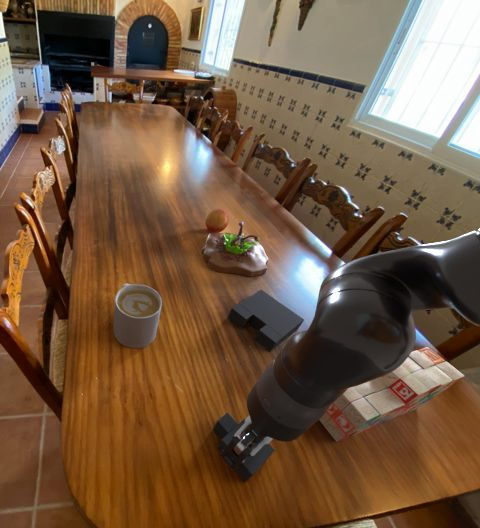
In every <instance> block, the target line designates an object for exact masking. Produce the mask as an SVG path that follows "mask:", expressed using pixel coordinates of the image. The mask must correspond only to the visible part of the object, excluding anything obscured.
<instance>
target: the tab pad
mask: <svg viewBox="0 0 480 528" xmlns="http://www.w3.org/2000/svg"><path fill="white" fill-rule="evenodd" d="M245 419H246V418H242V420H241V421H240V422H239V423H238V422H237V421H236V420H235V418H233V417H232V416H231V415H230V414H229V412H226V413H224V414H223V415H222V416H220V418H219V419H217V421H216V423H215V424H214V426H213V428H212V431H213V432H214V433H215V434H216V435H217V436H218V438H219V439H220V441H219V443H218V445H217V446H216V449H217V450H218V451H219V453H220V454H221V452H222V450H224V449H225V448H226V447H227V445H228V444H229V443H230V442H231V440H232V438H233V436H234V435H235V433H236V432H237V431H238V430H239V429H240V428H241V426H242V425H243V424H244V423H245ZM243 435H244V436H246V434H245V430H244V431H243ZM264 438H265V437H264ZM264 438H263V439H264ZM263 439H262V440H263ZM262 440H261V441H262ZM261 441H260V442H261ZM260 442H259V443H260ZM259 443H253V442H251V444H252V445H253V446H255V447H256V446H258V445H259ZM275 451H276V450H275V448H274V447H273V446H272V445H271V444H270V443H269V444H265V445H264V446H263V447H262V448H261V449H260V450H259V451H258V452H257V453H256V454H255V455H254V456H251V455H250V456H249V457H248V456H247V457H246V458H245V459H244V460H245V461H244V462H243V463H242V462H241V464H240V465H239V466H238V469H237V470H234V471H235V472H236V473H237V474H238V476H239V477H240V478H241V479H242V480H243V482H244V483H247V482H248V481H249V480H250V479H251V478H252V477H253V476H254V475H255V473H256V472H257V471H259V469H260V468H261V467H262V466H263V465H264V463H265V462H266V461H267V460H268V459H269V458H270V457H271V456H272V454H273V453H274V452H275Z"/></svg>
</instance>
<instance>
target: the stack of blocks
mask: <svg viewBox="0 0 480 528" xmlns="http://www.w3.org/2000/svg"><path fill="white" fill-rule="evenodd" d="M463 378H465V374H463V373H462V372H460V371H459V370H458V369H457V368H455V367H454V366H453V365H452V364H451V363H449V362H448V361H446V360H445V359H444V358H443V357H442V356H440V355H439V354H438V353H436V352H435V351H434V350H432V348H430V347H428V346H425V347H423V348H420V349H417V350H412V352H411V353H410V355H409V356H408V358H407V359H406V360H405V361H404V363H403V364H402V365H401V366H399V367H398V368H397V369H396V370H394V371H393V372H391V373H389V374H387V375H385V376H382V377H379V378H377V379H374V380H371V381H369V382H366V383H364V384H361V385H358V386H354V387H351V388H348V390H347V391H346V392H345V393H344V394H342V395H341V396H340V397H339V398H338V399H337V400H336V401H335V402H334V403H332V404H331V405H330V407H329V408H328V410H327V411H326V413H325V414H324V415H323V416H322V417H321V418H320V419H319V420H318V421H319V422H320V423H321V424H322V425H323V427H324V428H325V430H326V431H327V432H328V434H329V435H330V436H331V437H332V438H333V440H334V441H335V442H337V443H338V442H339V441H343V440H344V439H347V438H349V437H353V436H355V435H358V434H360V433H362V432H365V431H367V430H370V429H372V428H374V427H376V426H378V425H381V424H383V423H386V422H388V421H390V420H392V419H395V418H398V417H401V416H403V415H406V414H408V413H411V412H413V411H416V410H418V409H419V408H421V407H423V406H425V404H427V403H428V402H429V401H431V400H432V399H433V398H434V397H437V396H438V395H439V394H441V393H443V392H444V391H446V390H447V389H449V388H451V386H453V385H454V384H456V383H457V382H459V381H460V380H462V379H463Z"/></svg>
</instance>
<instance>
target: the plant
mask: <svg viewBox="0 0 480 528" xmlns="http://www.w3.org/2000/svg"><path fill="white" fill-rule="evenodd" d="M237 225H238V226H239V230H238V233H233V232H228V231H227V232H219V233H212V232H209V234H208V235H207V238H206V240H205V244H204V246H203V247H202V248H201V252H200V253H201V254H202V259H203V260H204V262H207V263H208V264H207V266H208V267H209V269H211V270H214V271H215V272H218V273H223V274H235V275H241V276H245V277H248V278H252V277H259V276H260V275H265V274H266V273H267V270H268V266H267V264H268V262H269V257H268V256H267V253H266V252H265V249H264V247H263V246H262V245H261V243H260V237H259V236H258V235H256V234H255V235H254V234H248V235H246V236H245V235H244V233H243V229H244V228H243V226H244V221H239V222H238V224H237ZM253 238H254V239H253Z"/></svg>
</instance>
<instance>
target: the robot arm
mask: <svg viewBox="0 0 480 528" xmlns="http://www.w3.org/2000/svg"><path fill="white" fill-rule="evenodd" d="M444 309H447V310H448V309H449V310H450V309H452V310H453V309H454V310H455V311H456V312H457V313H458V314H459V315H460V316H461V317H463V318H464V319H465V320H466V321H468V322H470V323H471V324H473V325H475V326H477V327H480V228H478V229H477V230H472V231H470V232H467V233H465V234H462V235H460V236H458V237H455V238H454V237H453V238H452V239H451V238H450V239H449V240H445V241H444V240H443V241H438V242H433V243H432V242H431V243H424V244H418V245H412V246H408V247H403V248H398V249H392V250H388V251H383V252H377V253H373V254H369V255H366V256H365V255H364V256H361V257H358V258H355V259H353V260H350V261H347V262H346V263H344V264H341V265H340V266H338V267H336V268H335V269H333V270H332V271H330V272H329V273H328V274H327V275H326V277H324V278H323V280H322V282H321V284H320V287H319V291H318V296H317V301H316V306H315V311H314V316H313V319H312V321H311V322H310V325H309V327H308V328H307V329H306V330H305V329H304V330H301V331H299V332H297V333H296V334H294V335H292V337H291V338H290V339H288V340H287V342H286V343H285V345H283V347H282V349H281V350H280V351H279V353H278V354H277V356H276V357H275V358H274V360H273V361H272V362H270V363H269V365H267V367H266V368H265V369H264V371H263V372H262V374H261V375H260V376H259V378H258V379H257V381H256V382H255V384H254V385H253V387H252V388H251V390H250V391H249V393H248V395H247V398H246V409H247V413H248V416H246V418H245V423H244V424H243V425H242V426H241V428H240V429H239V430H238V431H237V432H236V433H235V435H234V436H233V438H232V440H231V442H230V443H229V444H228V445H227V447H226V448H225V449H224V450H222V452H221V453H220V454H219V455H220V457H221V458H222V460H223V462H225V463H226V464H227V466H228V467H229V468H230V469H231V470H232V472H234V471H235V470H237V469H238V466H239V465H240V464H241V462H242V463H243V462H244V461H245V460H244V459H245V458H246V457H247V456H248V457H249V456H250V455H251V456H254V455H255V454H256V453H257V452H258V451H259V450H260V449H261V448H262V447H263V446H264V445H265V444H270V443H271V442H272V441H273V440H276V441H279V442H285V443H286V442H288V443H289V442H293V441H295V440H297V439H298V438H300V437H301V436H303V434H304V433H306V432H307V431H308V430H309V429H310V428H311V427H312V426H314V424H315V423H317V422H318V421H320V420H319V419H320V418H321V417H322V416H323V415H324V414H325V413H326V411H327V410H328V408H329V407H330V405H331V404H332V403H334V402H335V401H336V400H337V399H338V398H339V397H340V396H341V395H342V394H344V393H345V392H346V391H347V390H348V388H351V387H354V386H358V385H361V384H364V383H366V382H369V381H371V380H374V379H377V378H379V377H382V376H385V375H387V374H389V373H391V372H393V371H394V370H396V369H397V368H398V367H399V366H401V365H402V364H403V363H404V361H405V360H406V359H407V358H408V356H409V355H410V353H411V352H413V351H414V347H415V345H416V340H417V331H416V324H415V320H414V319H415V318H414V313H415V312H421V311H429V310H430V311H431V310H444ZM244 430H245V434H246V436H244V435H243V431H244ZM263 438H264V439H263ZM262 439H263V440H262ZM261 440H262V441H261ZM260 441H261V442H260ZM251 442H253V443H259V442H260V443H259V445H258V446H256V447H255V446H253V445H252V444H251Z"/></svg>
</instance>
